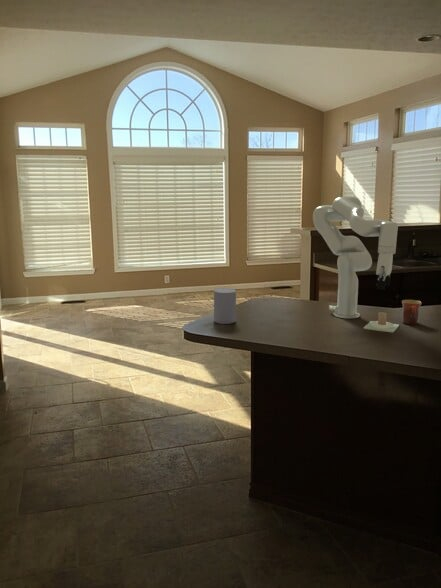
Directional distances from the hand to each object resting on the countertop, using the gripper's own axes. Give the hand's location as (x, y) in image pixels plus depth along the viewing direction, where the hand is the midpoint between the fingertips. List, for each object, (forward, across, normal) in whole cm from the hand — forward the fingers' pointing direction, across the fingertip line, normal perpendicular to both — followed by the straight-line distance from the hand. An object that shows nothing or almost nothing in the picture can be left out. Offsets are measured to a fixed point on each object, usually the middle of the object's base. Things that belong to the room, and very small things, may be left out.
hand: (383, 287), depth 236 cm
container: (+20, +28, -66) cm, 74 cm away
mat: (+18, +1, +1) cm, 19 cm away
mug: (+19, -12, +12) cm, 25 cm away
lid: (+18, +1, +1) cm, 18 cm away
